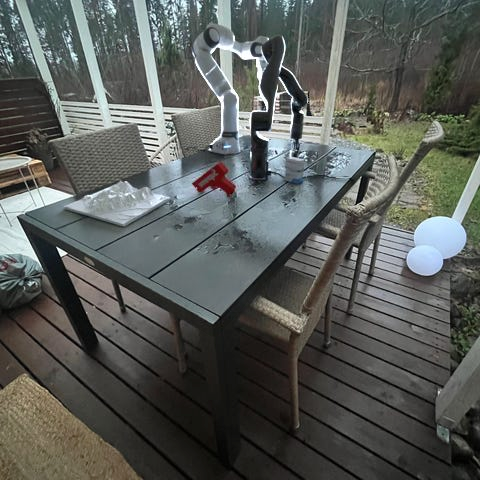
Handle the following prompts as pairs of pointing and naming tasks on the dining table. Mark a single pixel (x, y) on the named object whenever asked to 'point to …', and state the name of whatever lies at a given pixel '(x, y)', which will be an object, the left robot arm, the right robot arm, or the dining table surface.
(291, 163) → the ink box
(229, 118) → the left robot arm
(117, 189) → the relief map
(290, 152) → the block
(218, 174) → the toy gun
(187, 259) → the dining table surface
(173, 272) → the dining table surface
